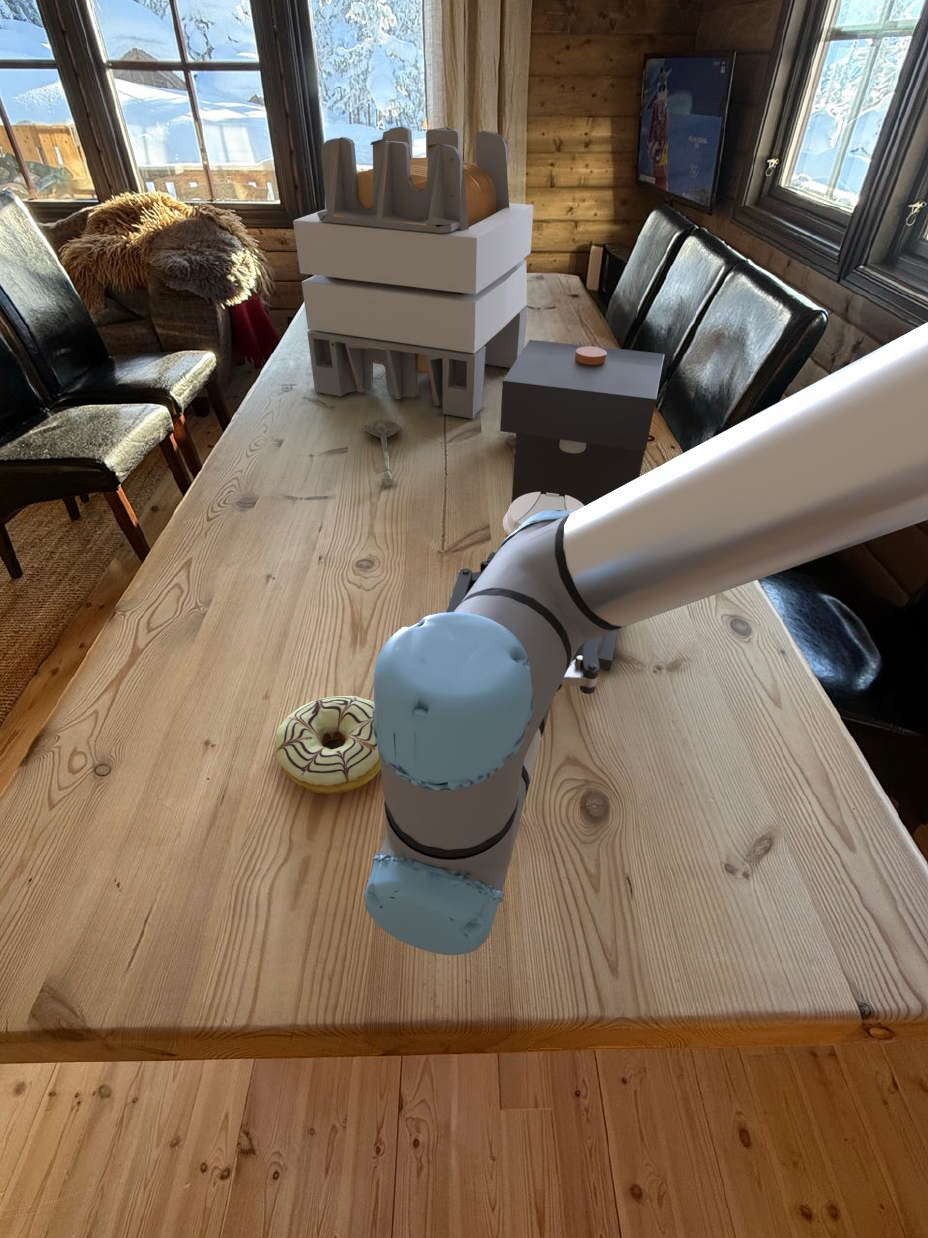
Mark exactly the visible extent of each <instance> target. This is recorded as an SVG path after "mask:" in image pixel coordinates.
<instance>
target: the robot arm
mask: <svg viewBox="0 0 928 1238" xmlns="http://www.w3.org/2000/svg"><path fill="white" fill-rule="evenodd" d="M924 521H928V322H926V323H924V324H922V325H920V326H918V327H916V328H914V329H912V330H911V331H909V332H907V333H905V334H904V335H901V336H899V337H898V338H896V339H894V340H892V341H890V342H889V343H886V344H884V345H883V346H881V347H879V348H877V349H875V350H874V351H872V352H870V353H868V354H866V355H864V356H862V357H861V358H858V359H857V360H855V361H853V362H850V363H849V364H847V365H845V366H844V367H842V368H840V369H838V370H835V371H834V372H832V373H831V374H829V375H827V376H825V377H823V378H821V379H820V380H817V381H816V382H814V383H812V384H810V385H808V386H806V387H804V388H803V389H801V390H799V391H797V392H795V393H794V394H792V395H789V396H788V397H786V398H785V399H783V400H780V401H779V402H776V403H775V404H772V405H771V406H769V407H767V408H765V409H763V410H762V411H760V412H758V413H756V414H754V415H752V416H750V417H749V418H746V419H745V420H743V421H741V422H739V423H737V424H735V425H734V426H732V427H730V428H728V429H726V430H725V431H722V432H721V433H719V434H717V435H715V436H713V437H711V438H710V439H707V440H705V441H704V442H702V443H700V444H699V445H696V446H694V447H693V448H690V449H689V450H687V451H685V452H683V453H681V454H680V455H677V456H676V457H674V458H672V459H670V460H669V461H667V462H665V463H663V464H661V465H659V466H658V467H655V468H653V469H651V470H650V471H648V472H646V473H645V474H642V475H640V477H639V478H637V479H635V480H633V481H631V482H629V483H627V484H626V485H624V486H622V487H620V488H618V489H616V490H614V491H612V492H611V493H609V494H607V495H605V496H603V497H601V498H599V499H598V500H596V501H594V502H592V503H590V504H588V505H586V506H585V507H583V508H581V509H579V510H577V511H571V510H546V511H542V512H539V513H537V514H535V515H533V516H531V517H529V518H528V519H527V520H526V521H524V522H523V523H522V524H521V526H520V527H519V528H518V529H517V530H516V531H515V532H513V533H512V534H511V535H509V536H508V537H507V538H506V537H505V539H504V540H503V541H502V543H500V546H499V548H497V550H496V551H492V552H491V553H489V555H488V557H487V559H486V560H484V561H482V562H480V563H479V564H480V567H479V571H476V572H475V571H474V572H473V570H472V569H471V568H467V567H464V568H461V569H459V571H458V573H457V576H456V579H455V582H454V586H453V589H452V592H451V594H450V598H449V601H448V604H447V606H446V610H445V612H440V613H439V612H438V613H434V614H428V615H425V616H424V617H422V618H421V620H420V621H418V622H417V623H416V624H414V625H411V626H402V628H400V629H398V630H397V631H396V632H395V633H394V634H393V635H392V636H391V637H390V638H388V640H387V641H385V644H384V645H383V647H382V649H381V650H380V652H379V654H378V657H377V659H376V662H375V666H374V672H373V702H374V709H373V711H372V714H373V720H374V723H373V730H374V736H375V740H376V744H377V745H378V753H379V760H380V767H381V769H380V773H381V780H382V789H383V795H384V803H383V805H384V814H385V815H384V816H385V822H386V833H385V837H384V842H383V843H382V846H381V848H380V850H379V852H378V853H377V854H375V855H374V857H373V859H372V862H373V866H372V869H371V871H370V875H369V878H368V881H367V884H366V888H365V891H364V905H365V908H366V910H367V912H368V914H369V916H370V918H371V919H372V920H373V921H374V922H375V924H377V925H378V926H379V927H380V929H382V930H383V931H384V932H386V933H387V934H389V936H391V937H393V938H394V939H396V940H398V941H400V942H402V943H404V944H405V945H408V946H410V947H414V948H417V949H420V950H423V951H425V952H428V953H432V954H438V955H446V956H461V955H467V954H470V953H473V952H475V951H477V950H478V949H480V948H481V947H482V946H484V944H485V943H486V942H487V940H488V938H489V937H490V934H491V931H492V928H493V924H494V921H495V918H496V915H497V913H498V909H499V906H500V904H501V903H503V901H504V892H503V891H504V886H505V883H506V880H507V879H506V878H507V874H508V871H509V866H510V864H511V859H512V855H513V851H514V848H515V843H516V840H517V835H518V830H519V828H520V827H519V826H520V822H521V817H522V813H523V810H524V805H525V802H526V801H525V800H526V798H527V796H528V792H529V788H530V784H531V782H532V778H533V773H534V769H535V766H536V762H537V758H538V754H539V752H540V748H541V743H542V736H543V735H544V732H545V728H546V725H547V720H548V717H549V713H550V708H551V705H552V702H553V699H555V698H554V697H555V696H556V694H557V693H558V692H559V691H560V690H561V689H562V688H563V686H570V687H571V686H573V687H575V686H576V687H579V689H580V692H582V693H583V694H585V695H592V694H594V693H595V692H596V688H597V684H598V680H599V673H600V671H601V670H600V665H599V660H598V658H599V655H600V652H601V649H602V647H603V644H604V641H605V638H606V635H607V634H608V633H611V632H613V631H615V630H617V629H618V630H620V629H623V628H625V627H628V626H631V625H634V624H636V623H639V622H642V621H644V620H647V619H650V618H653V617H656V616H658V615H662V614H665V613H667V612H670V611H673V610H676V609H678V608H681V607H684V606H687V605H690V604H692V603H695V602H699V601H701V600H705V599H707V598H710V597H712V596H713V597H714V596H715V595H718V594H721V593H724V592H727V591H730V590H732V589H735V588H738V587H741V586H744V585H746V584H749V583H752V582H755V581H757V580H760V579H761V580H762V579H763V578H767V577H769V576H772V575H775V574H778V573H780V572H783V571H786V570H789V569H792V568H794V567H797V566H800V565H804V564H806V563H809V562H812V561H815V560H818V559H820V558H822V557H825V556H828V555H832V554H834V553H837V552H840V551H843V550H845V549H846V550H847V549H848V548H851V547H854V546H856V545H859V544H862V543H866V542H868V541H871V540H874V539H877V538H880V537H882V536H885V535H888V534H890V533H894V532H897V531H899V530H902V529H905V528H909V527H911V526H914V525H916V524H919V523H922V522H924ZM583 643H584V645H583V648H582V654H581V655H578V656H576V659H574V660H573V658H574V656H575V654H576V652H577V650H578V648H579V647H580V646H581V645H582V644H583ZM572 660H573V661H572Z"/></svg>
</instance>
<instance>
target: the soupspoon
mask: <svg viewBox="0 0 928 1238" xmlns="http://www.w3.org/2000/svg"><path fill="white" fill-rule="evenodd" d="M401 428H402V426H401V424H400V423H398V422H396V421H393V420H389V419H376V420H373V421H370V422H368V423H367V424H365V425H363V427H362V430H363V431H364V432H367V433H369V434H370V435H373V436H375V437H377V438H379V439H380V442H381V448H382V454H383V461H384V470H383V471H384V474H383V478H382V479H381V484H382V485H383V486H385V487H390V486H392V485H393V484H394V479H393V478H392V476H391V468H390V457H389V449H388V439H387V438H389V437H392V436H393V435H394V434H396V433H397V432H399V431H400V430H401Z"/></svg>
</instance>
